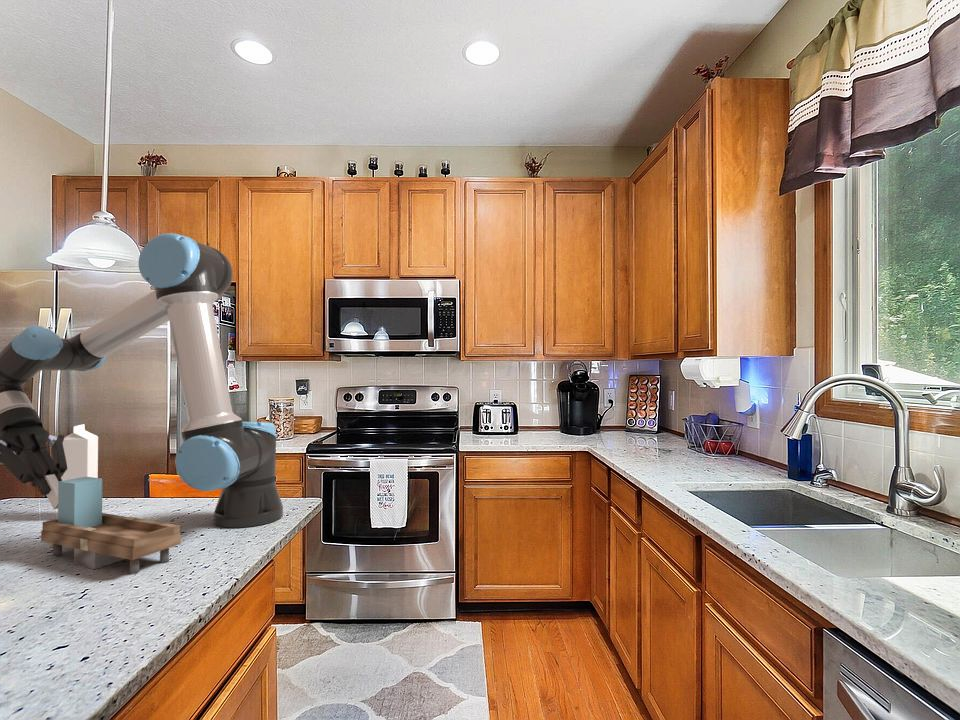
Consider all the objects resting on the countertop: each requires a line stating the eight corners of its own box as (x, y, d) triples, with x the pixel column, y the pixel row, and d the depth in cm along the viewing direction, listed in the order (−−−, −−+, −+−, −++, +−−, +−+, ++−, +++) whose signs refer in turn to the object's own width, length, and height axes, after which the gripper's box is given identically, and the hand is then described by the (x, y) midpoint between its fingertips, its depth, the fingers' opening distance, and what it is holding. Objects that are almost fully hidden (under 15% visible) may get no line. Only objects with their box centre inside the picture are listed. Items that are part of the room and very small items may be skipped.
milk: (57, 520, 124) (57, 427, 124) (69, 513, 130) (69, 424, 130) (87, 518, 126) (87, 426, 126) (98, 511, 131) (98, 423, 132)
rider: (57, 528, 101) (58, 481, 101) (85, 521, 106) (86, 476, 106) (74, 531, 99) (74, 483, 99) (101, 524, 104) (102, 478, 104)
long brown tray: (40, 557, 100) (40, 522, 100) (92, 542, 108) (92, 510, 108) (131, 578, 90) (132, 539, 90) (180, 559, 98) (181, 524, 98)
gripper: (41, 426, 118) (87, 508, 112) (-33, 432, 106) (13, 525, 100) (56, 403, 116) (103, 485, 110) (-19, 407, 104) (30, 499, 98)
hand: (61, 504), depth 105 cm, fingers closed
